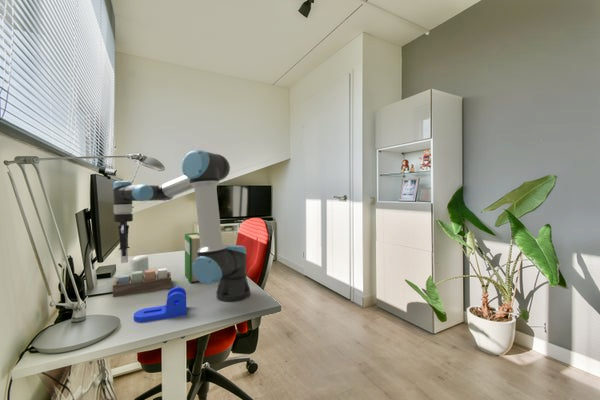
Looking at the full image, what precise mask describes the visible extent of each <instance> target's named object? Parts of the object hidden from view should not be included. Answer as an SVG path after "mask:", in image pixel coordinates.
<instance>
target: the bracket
mask: <svg viewBox="0 0 600 400" xmlns="http://www.w3.org/2000/svg"><path fill="white" fill-rule="evenodd" d="M183 316H187V292H186V290H185V288H183V287H182V286H175V287H171V288H170V289H169V291H168V293H167V296H166V304H165V305H159V306H158V305H157V306H152V307H146V308H142V309H139V310H137V311H135V312H134V313H133V322H136V323H146V322H153V321H159V320H165V319H171V318H176V317H183Z"/></svg>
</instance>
